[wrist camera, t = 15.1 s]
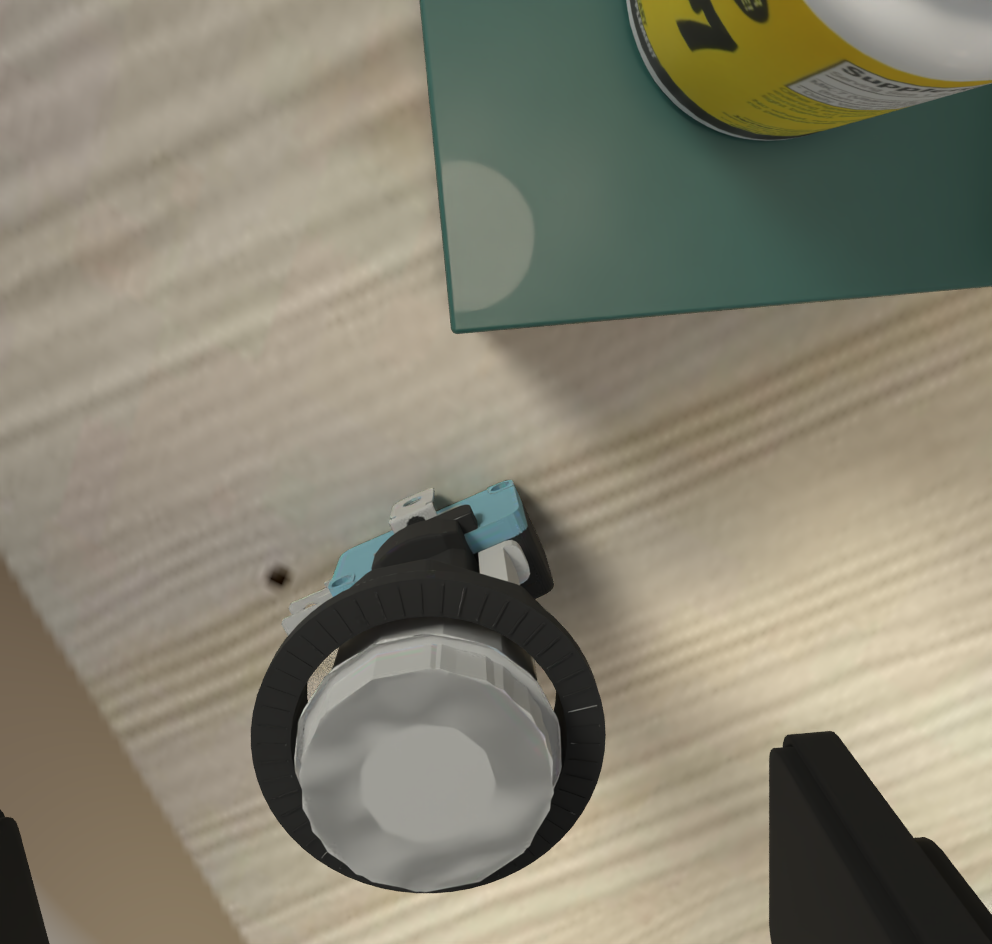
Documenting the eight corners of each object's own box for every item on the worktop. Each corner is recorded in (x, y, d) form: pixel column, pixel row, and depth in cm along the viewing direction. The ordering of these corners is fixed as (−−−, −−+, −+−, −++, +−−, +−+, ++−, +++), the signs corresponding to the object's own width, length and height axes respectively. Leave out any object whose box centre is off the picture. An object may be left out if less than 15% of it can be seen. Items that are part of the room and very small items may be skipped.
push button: (343, 691, 23) (259, 1025, 13) (247, 514, 21) (74, 739, 12) (577, 593, 22) (671, 860, 13) (494, 406, 21) (528, 545, 11)
